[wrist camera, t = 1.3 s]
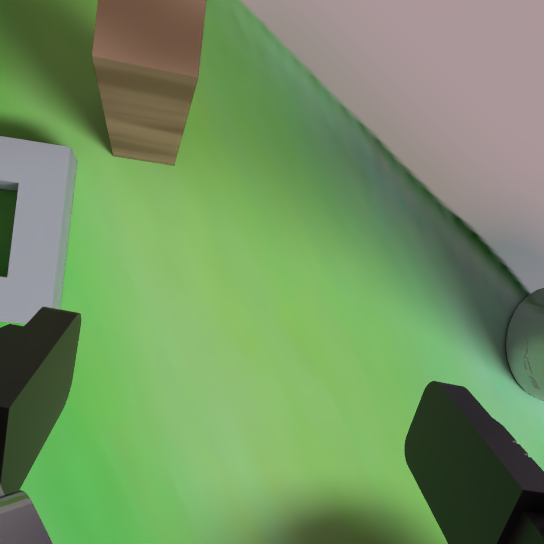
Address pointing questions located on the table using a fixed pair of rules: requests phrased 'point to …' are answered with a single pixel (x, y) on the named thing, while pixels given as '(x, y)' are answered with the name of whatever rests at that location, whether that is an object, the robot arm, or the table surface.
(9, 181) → the socket block
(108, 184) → the table surface
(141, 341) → the table surface
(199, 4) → the walnut peg
